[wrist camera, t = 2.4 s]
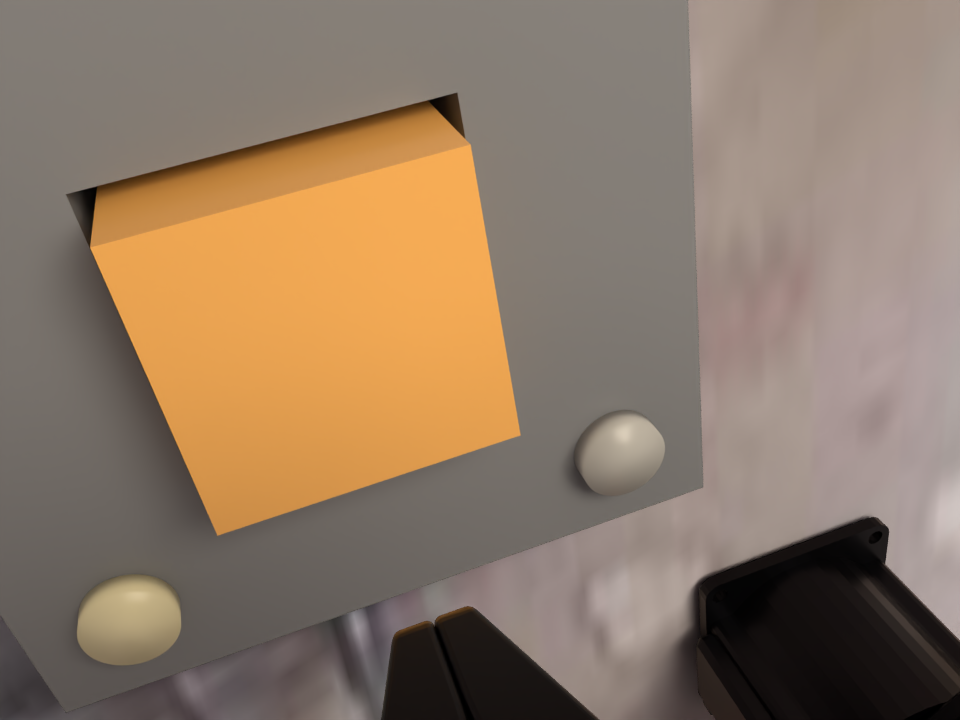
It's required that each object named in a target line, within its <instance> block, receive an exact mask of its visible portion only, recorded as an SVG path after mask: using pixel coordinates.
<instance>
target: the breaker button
mask: <svg viewBox="0 0 960 720" xmlns="http://www.w3.org/2000/svg"><path fill="white" fill-rule="evenodd" d="M90 249H91V251H92V253H93V255H94V258H95V260H96V262H97V264H98V267H99V269H100V271H101V273H102V276H103V278H104V280H105V282H106V285H107V287H108V289H109V291H110V294H111V296H112V298H113V301H114V303H115V305H116V307H117V310H118V312H119V314H120V316H121V319H122V321H123V323H124V325H125V328H126V330H127V332H128V334H129V337H130V339H131V341H132V343H133V346H134V348H135V350H136V353H137V355H138V357H139V359H140V362H141V364H142V366H143V368H144V371H145V373H146V375H147V377H148V380H149V382H150V384H151V386H152V389H153V391H154V393H155V395H156V398H157V400H158V402H159V405H160V407H161V409H162V411H163V414H164V416H165V418H166V420H167V423H168V425H169V427H170V429H171V432H172V434H173V436H174V438H175V441H176V443H177V445H178V447H179V450H180V452H181V454H182V456H183V459H184V461H185V463H186V466H187V468H188V470H189V472H190V475H191V477H192V479H193V481H194V484H195V486H196V488H197V490H198V493H199V495H200V497H201V499H202V502H203V504H204V506H205V508H206V511H207V513H208V515H209V518H210V520H211V522H212V524H213V527H214V529H215V531H216V533H217V536H218V535H221V534H224V533H227V532H230V531H233V530H236V529H239V528H242V527H245V526H248V525H251V524H254V523H257V522H260V521H263V520H266V519H269V518H272V517H275V516H278V515H282V514H285V513H288V512H291V511H294V510H297V509H300V508H303V507H306V506H309V505H312V504H315V503H318V502H321V501H324V500H327V499H330V498H333V497H336V496H339V495H342V494H345V493H348V492H351V491H354V490H357V489H360V488H363V487H366V486H369V485H372V484H375V483H378V482H381V481H384V480H387V479H390V478H393V477H396V476H399V475H402V474H405V473H408V472H411V471H414V470H417V469H420V468H423V467H427V466H430V465H433V464H436V463H439V462H442V461H445V460H448V459H451V458H454V457H457V456H460V455H463V454H466V453H469V452H472V451H475V450H478V449H481V448H484V447H487V446H490V445H493V444H496V443H499V442H502V441H505V440H508V439H511V438H514V437H517V436H520V435H521V434H520V429H519V423H518V417H517V411H516V405H515V400H514V394H513V388H512V382H511V376H510V371H509V365H508V359H507V353H506V347H505V341H504V336H503V330H502V324H501V318H500V312H499V307H498V301H497V295H496V289H495V283H494V278H493V272H492V266H491V260H490V254H489V249H488V243H487V237H486V231H485V225H484V219H483V214H482V208H481V202H480V196H479V190H478V185H477V179H476V173H475V167H474V161H473V156H472V150H471V144H470V143H469V142H468V141H467V140H466V139H465V138H464V137H463V136H462V135H461V134H460V133H459V132H458V131H457V130H456V129H455V128H454V127H453V126H452V125H451V124H450V123H449V122H448V121H447V120H446V119H445V118H444V117H443V116H442V115H441V114H440V113H439V112H438V111H437V110H436V109H435V108H434V106H433V105H432V104H431V103H430V102H429V101H428V100H426V101H423V102H419V103H415V104H411V105H407V106H403V107H400V108H396V109H392V110H388V111H384V112H380V113H376V114H373V115H369V116H365V117H361V118H357V119H353V120H350V121H346V122H342V123H338V124H334V125H330V126H326V127H323V128H319V129H315V130H311V131H307V132H303V133H300V134H296V135H292V136H288V137H284V138H280V139H276V140H273V141H269V142H265V143H261V144H257V145H253V146H250V147H246V148H242V149H238V150H234V151H230V152H226V153H223V154H219V155H215V156H211V157H207V158H203V159H200V160H196V161H192V162H188V163H184V164H180V165H177V166H173V167H169V168H165V169H161V170H157V171H153V172H150V173H146V174H142V175H138V176H134V177H130V178H127V179H123V180H119V181H115V182H111V183H107V184H103V185H100V186H97V193H96V202H95V210H94V219H93V227H92V236H91V244H90Z"/></svg>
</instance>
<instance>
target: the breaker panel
mask: <svg viewBox="0 0 960 720" xmlns="http://www.w3.org/2000/svg"><path fill="white" fill-rule="evenodd" d="M426 100H428V101H429V102H430V103H431V104H432V105H433V106H434V108H435V109H436V110H437V111H438V112H439V113H440V114H441V115H442V116H443V117H444V118H445V119H446V120H447V121H448V122H449V123H450V124H451V125H452V126H453V127H454V128H455V129H456V130H457V131H458V132H459V133H460V134H461V135H462V136H463V137H464V138H465V139H466V140H467V141H468V142H469V143H470V144H471V150H472V156H473V161H474V167H475V173H476V179H477V185H478V190H479V196H480V202H481V208H482V214H483V219H484V225H485V231H486V237H487V243H488V249H489V254H490V260H491V266H492V272H493V278H494V283H495V289H496V295H497V301H498V307H499V312H500V318H501V324H502V330H503V336H504V341H505V347H506V353H507V359H508V365H509V371H510V376H511V382H512V388H513V394H514V400H515V405H516V411H517V417H518V423H519V429H520V434H521V435H520V436H517V437H514V438H511V439H508V440H505V441H502V442H499V443H496V444H493V445H490V446H487V447H484V448H481V449H478V450H475V451H472V452H469V453H466V454H463V455H460V456H457V457H454V458H451V459H448V460H445V461H442V462H439V463H436V464H433V465H430V466H427V467H423V468H420V469H417V470H414V471H411V472H408V473H405V474H402V475H399V476H396V477H393V478H390V479H387V480H384V481H381V482H378V483H375V484H372V485H369V486H366V487H363V488H360V489H357V490H354V491H351V492H348V493H345V494H342V495H339V496H336V497H333V498H330V499H327V500H324V501H321V502H318V503H315V504H312V505H309V506H306V507H303V508H300V509H297V510H294V511H291V512H288V513H285V514H282V515H278V516H275V517H272V518H269V519H266V520H263V521H260V522H257V523H254V524H251V525H248V526H245V527H242V528H239V529H236V530H233V531H230V532H227V533H224V534H221V535H218V536H217V533H216V531H215V529H214V527H213V524H212V522H211V520H210V518H209V515H208V513H207V511H206V508H205V506H204V504H203V502H202V499H201V497H200V495H199V493H198V490H197V488H196V486H195V484H194V481H193V479H192V477H191V475H190V472H189V470H188V468H187V466H186V463H185V461H184V459H183V456H182V454H181V452H180V450H179V447H178V445H177V443H176V441H175V438H174V436H173V434H172V432H171V429H170V427H169V425H168V423H167V420H166V418H165V416H164V414H163V411H162V409H161V407H160V405H159V402H158V400H157V398H156V395H155V393H154V391H153V389H152V386H151V384H150V382H149V380H148V377H147V375H146V373H145V371H144V368H143V366H142V364H141V362H140V359H139V357H138V355H137V353H136V350H135V348H134V346H133V343H132V341H131V339H130V337H129V334H128V332H127V330H126V328H125V325H124V323H123V321H122V319H121V316H120V314H119V312H118V310H117V307H116V305H115V303H114V301H113V298H112V296H111V294H110V291H109V289H108V287H107V285H106V282H105V280H104V278H103V276H102V273H101V271H100V269H99V267H98V264H97V262H96V260H95V258H94V255H93V253H92V251H91V249H90V244H91V236H92V227H93V219H94V210H95V202H96V193H97V186H100V185H103V184H107V183H111V182H115V181H119V180H123V179H127V178H130V177H134V176H138V175H142V174H146V173H150V172H153V171H157V170H161V169H165V168H169V167H173V166H177V165H180V164H184V163H188V162H192V161H196V160H200V159H203V158H207V157H211V156H215V155H219V154H223V153H226V152H230V151H234V150H238V149H242V148H246V147H250V146H253V145H257V144H261V143H265V142H269V141H273V140H276V139H280V138H284V137H288V136H292V135H296V134H300V133H303V132H307V131H311V130H315V129H319V128H323V127H326V126H330V125H334V124H338V123H342V122H346V121H350V120H353V119H357V118H361V117H365V116H369V115H373V114H376V113H380V112H384V111H388V110H392V109H396V108H400V107H403V106H407V105H411V104H415V103H419V102H423V101H426ZM700 488H703V462H702V430H701V398H700V366H699V334H698V302H697V270H696V238H695V206H694V174H693V143H692V111H691V79H690V47H689V15H688V0H0V616H1V617H2V619H3V620H4V622H5V623H6V624H7V626H8V627H9V629H10V630H11V632H12V633H13V635H14V636H15V638H16V639H17V641H18V642H19V644H20V645H21V647H22V648H23V650H24V651H25V653H26V654H27V656H28V657H29V659H30V660H31V662H32V663H33V665H34V666H35V668H36V669H37V671H38V672H39V674H40V675H41V677H42V678H43V680H44V681H45V683H46V684H47V686H48V687H49V689H50V690H51V692H52V693H53V695H54V696H55V698H56V699H57V701H58V702H59V704H60V705H61V707H62V708H63V709H64V711H65V712H66V713H67V712H70V711H73V710H75V709H78V708H81V707H84V706H87V705H90V704H92V703H95V702H98V701H101V700H104V699H107V698H109V697H112V696H115V695H118V694H121V693H123V692H126V691H129V690H132V689H135V688H138V687H140V686H143V685H146V684H149V683H152V682H155V681H157V680H160V679H163V678H166V677H169V676H172V675H174V674H177V673H180V672H183V671H186V670H188V669H191V668H194V667H197V666H200V665H203V664H205V663H208V662H211V661H214V660H217V659H220V658H222V657H225V656H228V655H231V654H234V653H236V652H239V651H242V650H245V649H248V648H251V647H253V646H256V645H259V644H262V643H265V642H268V641H270V640H273V639H276V638H279V637H282V636H284V635H287V634H290V633H293V632H296V631H299V630H301V629H304V628H307V627H310V626H313V625H316V624H318V623H321V622H324V621H327V620H330V619H333V618H335V617H338V616H341V615H344V614H347V613H349V612H352V611H355V610H358V609H361V608H364V607H366V606H369V605H372V604H375V603H378V602H381V601H383V600H386V599H389V598H392V597H395V596H397V595H400V594H403V593H406V592H409V591H412V590H414V589H417V588H420V587H423V586H426V585H429V584H431V583H434V582H437V581H440V580H443V579H445V578H448V577H451V576H454V575H457V574H460V573H462V572H465V571H468V570H471V569H474V568H477V567H479V566H482V565H485V564H488V563H491V562H494V561H496V560H499V559H502V558H505V557H508V556H510V555H513V554H516V553H519V552H522V551H525V550H527V549H530V548H533V547H536V546H539V545H542V544H544V543H547V542H550V541H553V540H556V539H558V538H561V537H564V536H567V535H570V534H573V533H575V532H578V531H581V530H584V529H587V528H590V527H592V526H595V525H598V524H601V523H604V522H607V521H609V520H612V519H615V518H618V517H621V516H623V515H626V514H629V513H632V512H635V511H638V510H640V509H643V508H646V507H649V506H652V505H655V504H657V503H660V502H663V501H666V500H669V499H671V498H674V497H677V496H680V495H683V494H686V493H688V492H691V491H694V490H697V489H700Z"/></svg>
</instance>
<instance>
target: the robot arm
mask: <svg viewBox="0 0 960 720" xmlns="http://www.w3.org/2000/svg"><path fill="white" fill-rule="evenodd" d="M888 536H889V529H888V527H887V526H886V525H885V524H883V523H882V522H881V521H880V520H879V519H878V518H876V517H872V518H867V519H865V520H862V521H859V522H857V523H854V524H851V525H849V526H846V527H843V528H841V529H838V530H835V531H833V532H830V533H827V534H825V535H822V536H819V537H817V538H814V539H811V540H808V541H806V542H803V543H800V544H798V545H795V546H792V547H790V548H787V549H784V550H782V551H779V552H776V553H774V554H771V555H768V556H766V557H763V558H760V559H758V560H755V561H752V562H750V563H747V564H744V565H741V566H739V567H736V568H733V569H731V570H728V571H725V572H723V573H720V574H717V575H715V576H712V577H710V578H709V579H707V580H706V581H705V582H704V583H703V584H702V585H701V587H700V590H699V606H700V632H701V637H700V638H699V640H698V643H697V646H696V652H697V675H698V692H699V694H700V696H701V697H702V699H703V702H704V705H705V706H706V708H707V710H708V711H709V713H710V714H711V715H713V716H714V718H715V720H960V640H959V639H958V638H957V637H956V636H955V635H954V634H953V633H952V632H951V631H950V630H949V629H948V628H947V627H946V626H945V625H944V624H943V623H942V622H941V621H940V620H939V619H938V618H937V617H936V616H935V615H934V614H933V613H932V612H931V611H930V610H929V609H928V608H927V607H926V606H925V605H924V604H923V603H922V601H921V600H920V599H919V598H918V597H917V596H916V595H915V594H914V593H913V592H912V591H911V590H910V589H909V588H908V587H907V586H906V585H905V584H904V583H903V582H902V581H901V580H900V579H899V578H898V577H897V576H896V575H895V574H894V573H893V572H892V571H891V570H890V569H889V568H888V567H887V566H886V565H885V561H886V552H887V544H888ZM381 720H599V719H598V718H597V717H596V716H595V715H594V714H593V713H591V712H590V711H589V710H588V709H587V708H586V707H585V706H584V705H582V704H581V703H580V702H579V701H578V700H577V699H576V698H575V697H574V696H572V695H571V694H570V693H569V692H568V691H567V690H566V689H565V688H563V687H562V686H561V685H560V684H559V683H558V682H557V681H556V680H555V679H553V678H552V677H551V676H550V675H549V674H548V673H547V672H546V671H545V670H543V669H542V668H541V667H540V666H539V665H538V664H537V663H536V662H534V661H533V660H532V659H531V658H530V657H529V656H528V655H527V654H526V653H524V652H523V651H522V650H521V649H520V648H519V647H518V646H517V645H515V644H514V643H513V642H512V641H511V640H510V639H509V638H508V637H507V636H505V635H504V634H503V633H502V632H501V631H500V630H499V629H498V628H496V627H495V626H494V625H493V624H492V623H491V622H490V621H489V620H488V619H486V618H485V617H484V616H483V615H482V614H481V613H480V612H479V611H477V610H476V609H474V608H473V607H469V606H467V607H463V608H460V609H457V610H455V611H452V612H449V613H446V614H444V615H441V616H439V617H437V619H436V620H435V626H434V624H433V623H432V622H430V621H424V622H421V623H419V624H416V625H413V626H410V627H408V628H405V629H402V630H399V631H398V632H396V633H395V635H394V637H393V640H392V645H391V653H390V660H389V667H388V674H387V681H386V689H385V696H384V703H383V710H382V717H381Z"/></svg>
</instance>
